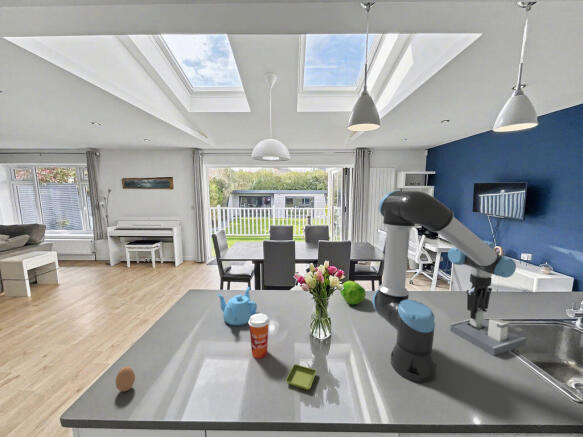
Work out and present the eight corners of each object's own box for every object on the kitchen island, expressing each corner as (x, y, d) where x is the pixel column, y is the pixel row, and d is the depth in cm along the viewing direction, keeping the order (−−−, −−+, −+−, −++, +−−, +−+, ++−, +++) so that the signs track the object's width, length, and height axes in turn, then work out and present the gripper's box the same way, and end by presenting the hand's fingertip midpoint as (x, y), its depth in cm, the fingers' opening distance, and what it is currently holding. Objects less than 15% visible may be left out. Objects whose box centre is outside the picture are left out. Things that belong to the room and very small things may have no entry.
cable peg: (468, 326, 111) (469, 307, 110) (474, 325, 113) (475, 305, 112) (477, 331, 108) (479, 311, 107) (483, 329, 109) (485, 309, 108)
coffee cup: (250, 362, 91) (249, 325, 89) (248, 348, 99) (247, 314, 97) (271, 358, 93) (271, 322, 91) (268, 345, 101) (267, 311, 99)
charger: (498, 347, 99) (501, 325, 98) (486, 341, 104) (489, 319, 103) (506, 345, 101) (508, 323, 100) (493, 339, 105) (496, 317, 104)
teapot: (216, 316, 124) (215, 293, 123) (249, 306, 135) (249, 285, 133) (227, 332, 110) (226, 307, 109) (263, 320, 120) (263, 297, 119)
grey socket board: (493, 355, 95) (494, 347, 94) (450, 330, 111) (450, 323, 111) (525, 345, 101) (526, 337, 101) (479, 322, 118) (480, 316, 118)
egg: (137, 389, 79) (136, 367, 78) (119, 399, 75) (116, 376, 74) (133, 380, 82) (131, 359, 81) (114, 390, 78) (112, 368, 77)
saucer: (294, 368, 88) (294, 363, 88) (317, 375, 85) (317, 369, 85) (285, 386, 80) (285, 381, 80) (309, 394, 77) (309, 388, 77)
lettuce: (359, 293, 152) (359, 274, 150) (367, 308, 132) (368, 288, 131) (337, 292, 153) (337, 274, 151) (342, 308, 133) (342, 287, 131)
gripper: (477, 280, 101) (472, 332, 104) (502, 275, 106) (496, 325, 109) (460, 274, 108) (455, 323, 111) (483, 270, 113) (479, 317, 116)
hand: (476, 324), depth 110 cm, fingers closed on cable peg, 3 cm apart
